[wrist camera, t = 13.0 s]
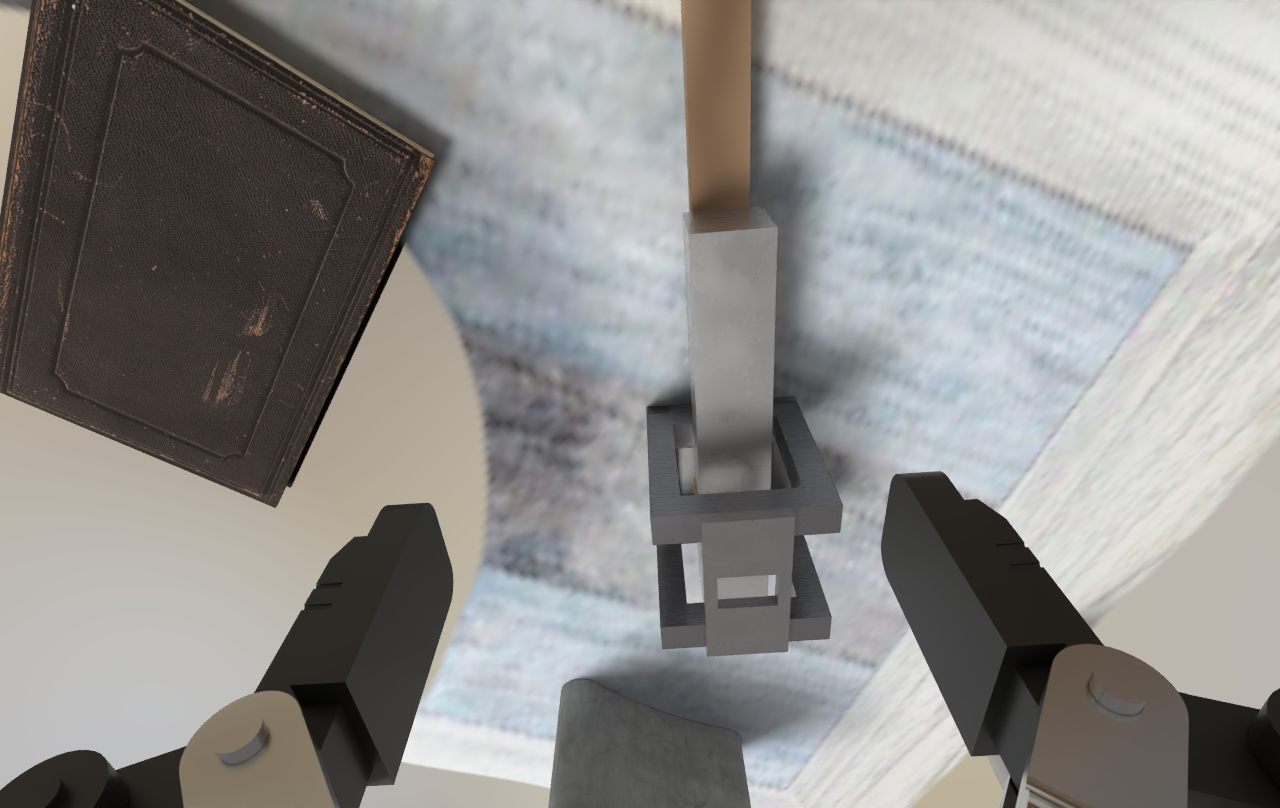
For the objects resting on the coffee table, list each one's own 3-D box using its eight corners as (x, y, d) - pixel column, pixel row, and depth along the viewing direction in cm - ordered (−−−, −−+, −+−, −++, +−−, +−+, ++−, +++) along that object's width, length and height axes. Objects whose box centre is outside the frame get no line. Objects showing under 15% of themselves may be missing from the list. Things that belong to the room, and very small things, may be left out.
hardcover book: (447, 153, 30) (434, 161, 28) (292, 484, 40) (274, 508, 38) (78, -77, 26) (31, -86, 24) (4, 360, 35) (-34, 379, 33)
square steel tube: (680, 213, 29) (686, 236, 26) (764, 205, 29) (781, 227, 26) (697, 569, 40) (703, 617, 37) (758, 565, 40) (769, 612, 36)
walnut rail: (743, -173, 24) (752, -189, 22) (743, 381, 36) (748, 399, 34) (674, -166, 24) (677, -181, 22) (696, 385, 36) (699, 403, 34)
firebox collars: (794, 396, 36) (846, 513, 27) (789, 514, 40) (832, 648, 32) (646, 407, 36) (650, 526, 28) (656, 523, 41) (663, 659, 32)
